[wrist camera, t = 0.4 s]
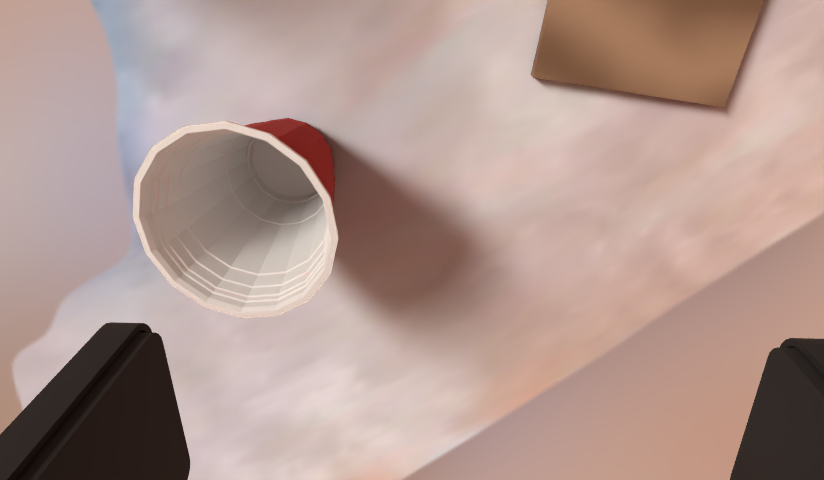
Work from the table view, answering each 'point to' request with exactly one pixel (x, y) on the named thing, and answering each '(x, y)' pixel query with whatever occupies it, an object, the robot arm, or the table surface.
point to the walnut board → (647, 46)
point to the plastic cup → (240, 214)
